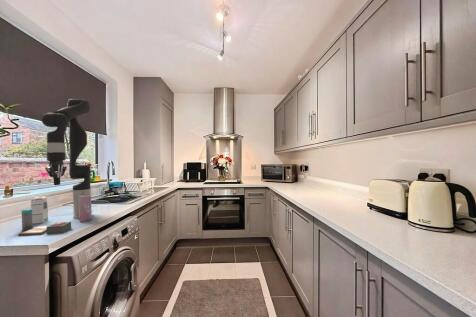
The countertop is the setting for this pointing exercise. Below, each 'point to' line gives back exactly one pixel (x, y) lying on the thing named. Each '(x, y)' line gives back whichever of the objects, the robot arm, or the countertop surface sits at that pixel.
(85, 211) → the tall pink box
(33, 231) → the drawing board
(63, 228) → the button box
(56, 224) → the button
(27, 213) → the green lidded grey container
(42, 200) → the syrup box
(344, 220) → the countertop surface
